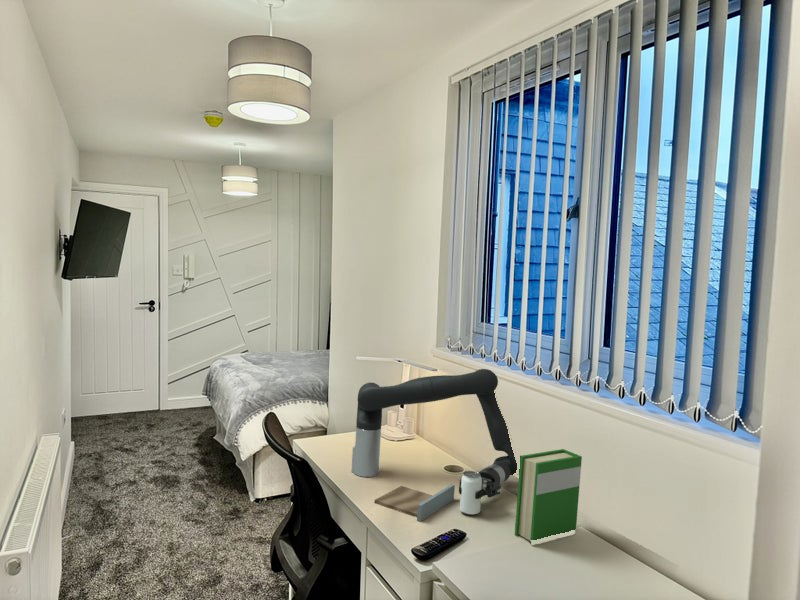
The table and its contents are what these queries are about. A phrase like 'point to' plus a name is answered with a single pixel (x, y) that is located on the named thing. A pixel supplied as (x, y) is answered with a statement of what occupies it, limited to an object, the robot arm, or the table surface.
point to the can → (470, 492)
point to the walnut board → (403, 500)
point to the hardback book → (547, 494)
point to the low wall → (435, 502)
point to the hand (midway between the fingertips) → (468, 493)
